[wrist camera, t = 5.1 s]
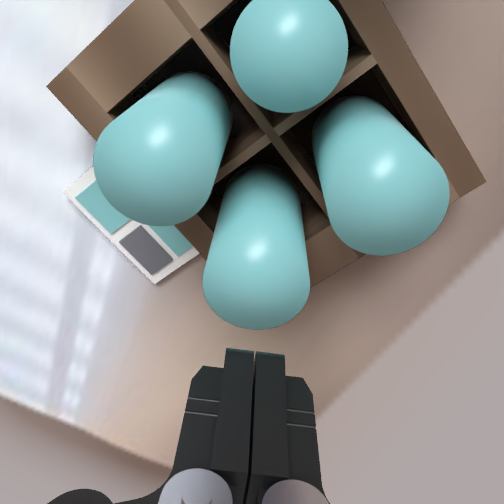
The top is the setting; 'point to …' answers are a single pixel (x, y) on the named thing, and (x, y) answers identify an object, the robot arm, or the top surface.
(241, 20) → the teal capsule
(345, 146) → the turquoise cylinder
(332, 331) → the top surface
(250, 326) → the light turquoise rounded peg
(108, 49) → the wooden compartment tray
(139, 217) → the pale teal rounded cylinder
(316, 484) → the robot arm
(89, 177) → the tile
